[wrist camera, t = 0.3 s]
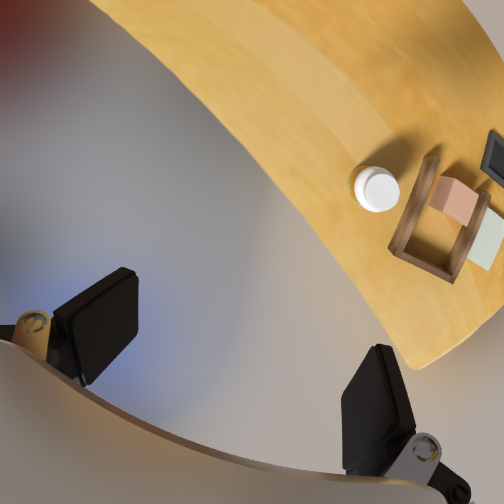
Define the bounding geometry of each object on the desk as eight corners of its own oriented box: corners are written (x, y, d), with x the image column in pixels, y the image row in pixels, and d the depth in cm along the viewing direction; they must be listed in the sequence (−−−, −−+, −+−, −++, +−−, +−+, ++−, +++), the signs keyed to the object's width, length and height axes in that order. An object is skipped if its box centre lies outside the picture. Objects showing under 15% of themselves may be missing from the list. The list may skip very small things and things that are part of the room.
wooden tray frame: (424, 155, 31) (434, 155, 28) (479, 192, 30) (491, 195, 27) (387, 247, 37) (393, 255, 33) (444, 275, 36) (452, 284, 32)
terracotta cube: (439, 175, 31) (454, 178, 27) (462, 190, 31) (478, 195, 26) (428, 205, 33) (442, 211, 29) (451, 219, 33) (466, 227, 28)
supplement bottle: (343, 199, 36) (354, 211, 27) (349, 161, 34) (363, 161, 25) (379, 207, 35) (400, 221, 26) (385, 170, 33) (409, 173, 24)
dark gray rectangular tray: (489, 131, 26) (493, 131, 25) (513, 153, 26) (517, 154, 25) (479, 168, 29) (483, 168, 28) (504, 189, 28) (508, 190, 27)
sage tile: (476, 200, 31) (481, 202, 29) (503, 221, 30) (508, 223, 29) (456, 250, 34) (460, 254, 33) (484, 268, 33) (488, 271, 32)
